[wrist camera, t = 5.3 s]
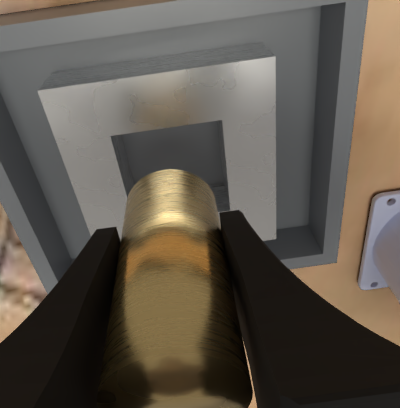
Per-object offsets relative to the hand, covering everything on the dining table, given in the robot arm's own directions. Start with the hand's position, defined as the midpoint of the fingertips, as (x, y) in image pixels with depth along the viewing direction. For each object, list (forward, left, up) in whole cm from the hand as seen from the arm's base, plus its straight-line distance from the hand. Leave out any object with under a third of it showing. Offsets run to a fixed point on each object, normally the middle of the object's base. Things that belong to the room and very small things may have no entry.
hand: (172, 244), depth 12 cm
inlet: (0, +1, -9) cm, 9 cm away
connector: (0, 0, -2) cm, 2 cm away
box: (0, +1, -9) cm, 9 cm away
